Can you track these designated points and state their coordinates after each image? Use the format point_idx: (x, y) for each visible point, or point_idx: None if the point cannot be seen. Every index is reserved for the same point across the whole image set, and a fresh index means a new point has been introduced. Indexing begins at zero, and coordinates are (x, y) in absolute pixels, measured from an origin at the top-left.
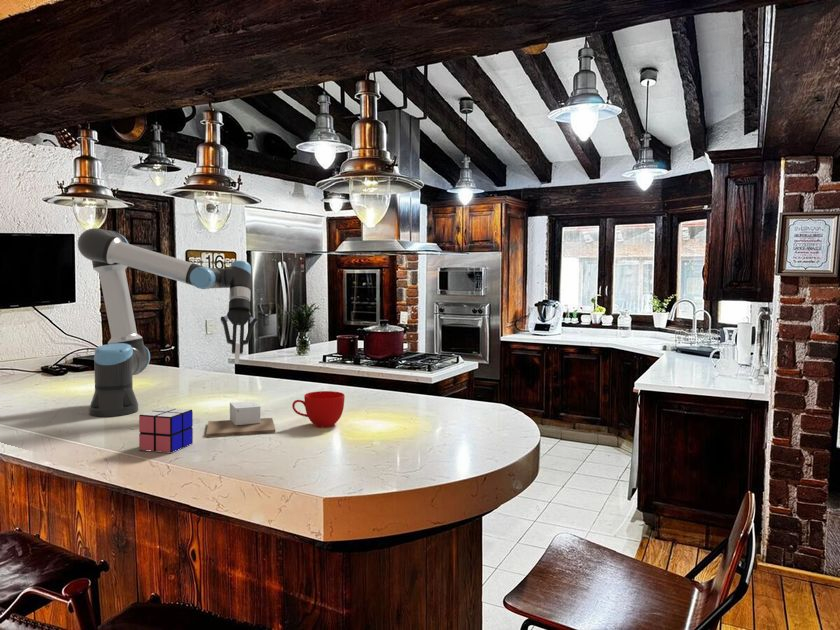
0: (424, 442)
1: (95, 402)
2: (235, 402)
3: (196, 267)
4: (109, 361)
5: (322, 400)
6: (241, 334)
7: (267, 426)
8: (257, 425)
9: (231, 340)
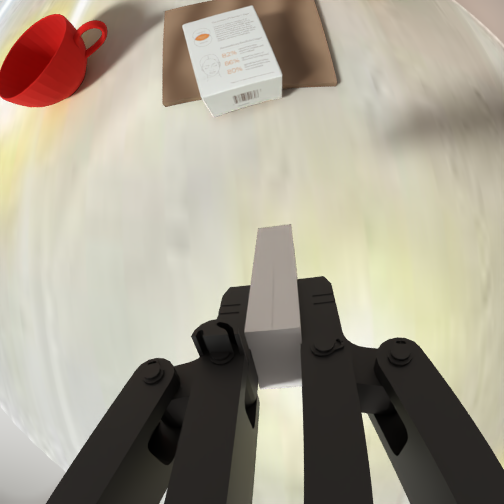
0: (6, 28)
1: None
2: (262, 72)
3: None
4: None
5: (49, 17)
6: (212, 459)
7: (179, 29)
8: None
9: (363, 372)
